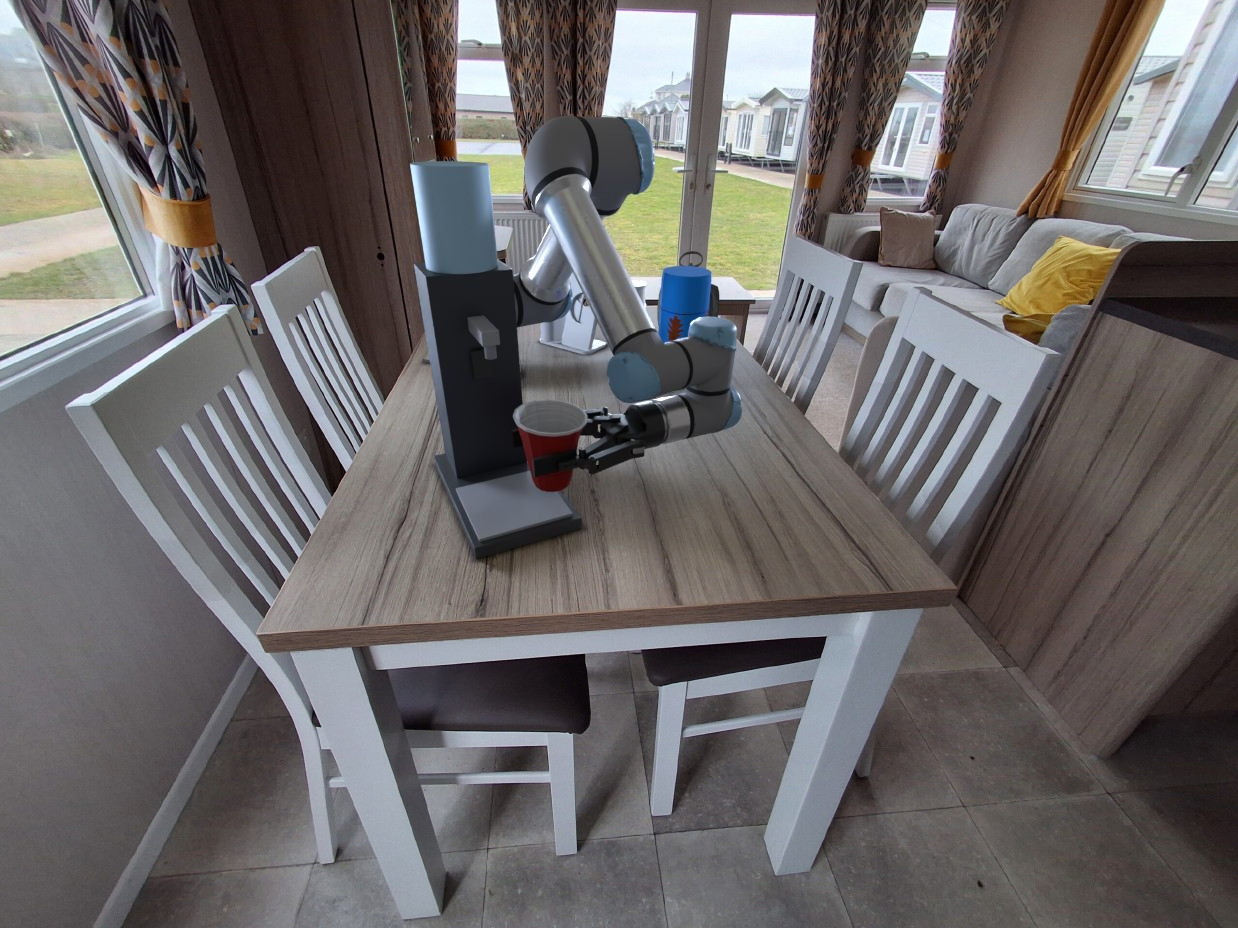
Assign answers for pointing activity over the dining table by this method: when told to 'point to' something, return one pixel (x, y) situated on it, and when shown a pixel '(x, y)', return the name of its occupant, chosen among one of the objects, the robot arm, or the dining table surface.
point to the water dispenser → (477, 364)
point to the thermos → (682, 300)
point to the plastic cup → (549, 435)
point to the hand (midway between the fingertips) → (522, 452)
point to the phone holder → (573, 327)
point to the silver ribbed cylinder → (641, 289)
